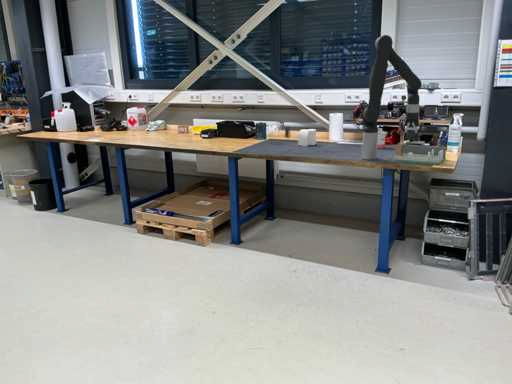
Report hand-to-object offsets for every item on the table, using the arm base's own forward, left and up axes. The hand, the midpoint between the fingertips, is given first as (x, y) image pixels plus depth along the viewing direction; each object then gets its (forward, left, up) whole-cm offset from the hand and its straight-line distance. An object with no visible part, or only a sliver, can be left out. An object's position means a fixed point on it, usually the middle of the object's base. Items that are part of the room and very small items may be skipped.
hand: (410, 138), depth 261 cm
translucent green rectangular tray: (+8, -7, -12) cm, 16 cm away
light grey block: (-84, +18, -13) cm, 87 cm away
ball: (+3, -11, -9) cm, 14 cm away
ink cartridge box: (-30, +27, -13) cm, 42 cm away
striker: (+2, -6, -10) cm, 12 cm away
